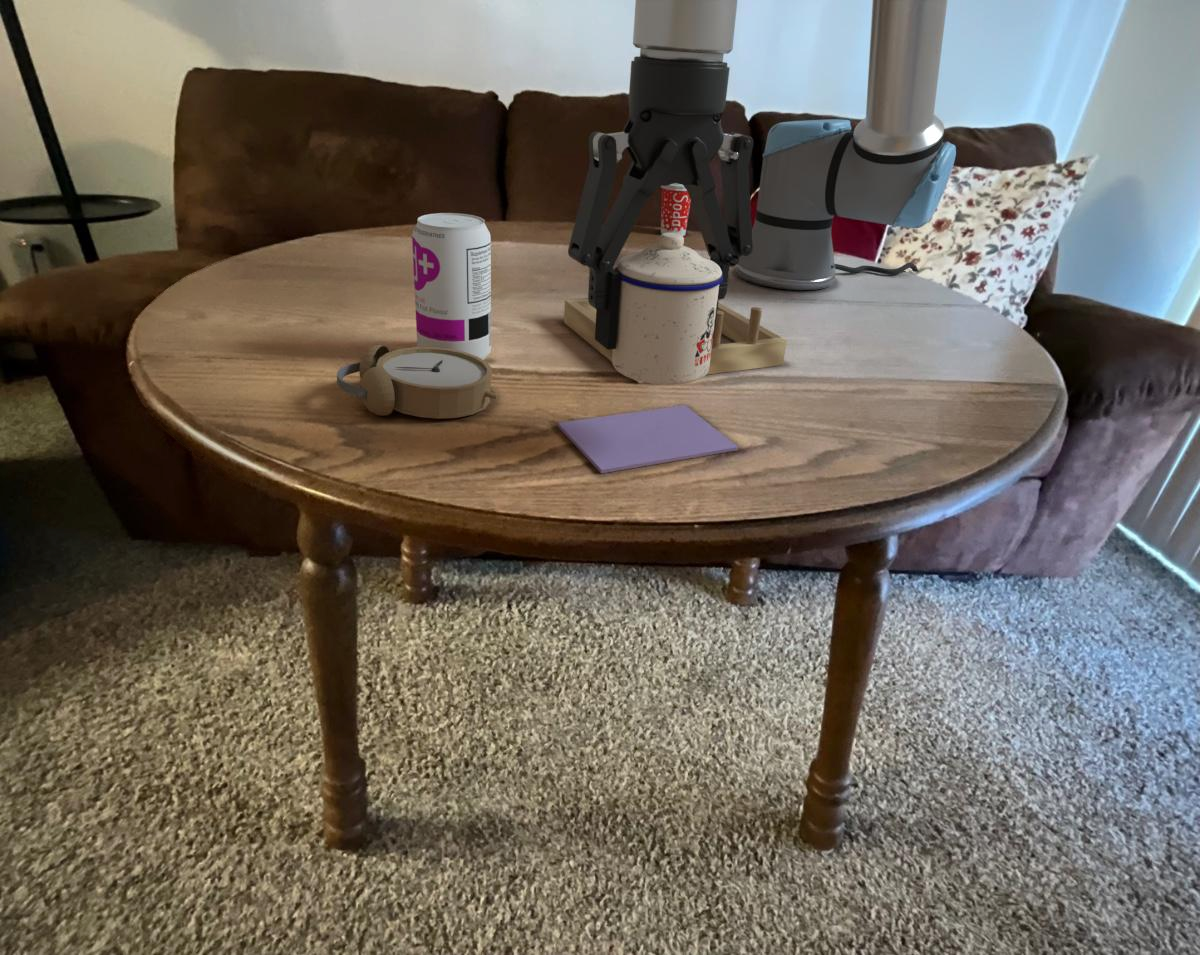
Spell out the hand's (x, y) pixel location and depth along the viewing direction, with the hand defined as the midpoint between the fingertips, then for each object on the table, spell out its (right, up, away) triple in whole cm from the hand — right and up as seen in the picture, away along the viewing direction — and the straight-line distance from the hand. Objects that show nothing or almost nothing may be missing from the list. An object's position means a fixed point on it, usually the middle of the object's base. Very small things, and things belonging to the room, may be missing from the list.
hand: (655, 338), depth 75 cm
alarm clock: (-23, -5, +10) cm, 25 cm away
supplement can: (-21, +1, +21) cm, 30 cm away
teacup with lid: (0, -2, +1) cm, 3 cm away
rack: (+4, +4, +29) cm, 29 cm away
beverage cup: (+9, +33, +82) cm, 89 cm away
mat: (-1, -9, +5) cm, 10 cm away
